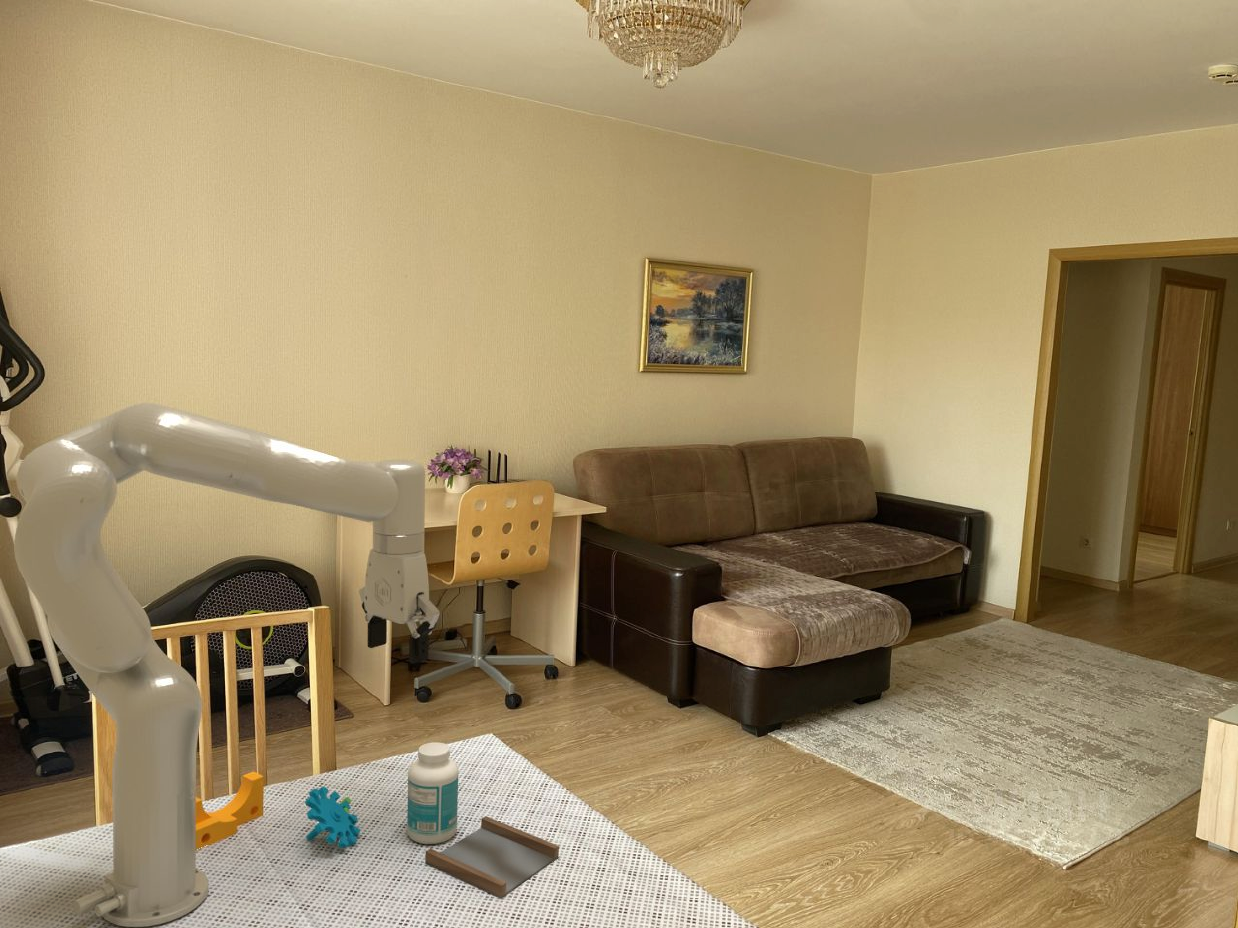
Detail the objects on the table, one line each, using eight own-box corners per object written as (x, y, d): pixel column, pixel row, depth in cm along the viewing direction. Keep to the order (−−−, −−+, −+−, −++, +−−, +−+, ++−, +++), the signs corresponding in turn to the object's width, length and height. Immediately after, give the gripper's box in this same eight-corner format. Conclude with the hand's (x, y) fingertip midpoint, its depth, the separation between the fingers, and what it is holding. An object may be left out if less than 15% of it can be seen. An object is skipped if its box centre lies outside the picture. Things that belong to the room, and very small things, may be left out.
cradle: (501, 898, 125) (501, 885, 125) (425, 863, 132) (425, 851, 132) (558, 857, 136) (559, 845, 136) (485, 826, 143) (485, 815, 143)
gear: (344, 852, 131) (301, 796, 132) (314, 878, 131) (271, 822, 132) (375, 824, 142) (334, 773, 143) (346, 849, 142) (306, 797, 143)
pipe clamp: (196, 851, 132) (196, 808, 132) (179, 841, 135) (179, 798, 134) (270, 820, 142) (270, 779, 141) (253, 810, 145) (253, 771, 144)
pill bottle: (447, 817, 146) (450, 735, 144) (463, 840, 139) (467, 753, 138) (400, 827, 142) (402, 742, 140) (415, 850, 135) (418, 762, 134)
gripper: (341, 537, 141) (341, 645, 143) (417, 556, 131) (415, 673, 133) (382, 530, 147) (381, 635, 149) (457, 548, 136) (455, 661, 139)
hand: (397, 653), depth 141 cm, fingers open, 9 cm apart
